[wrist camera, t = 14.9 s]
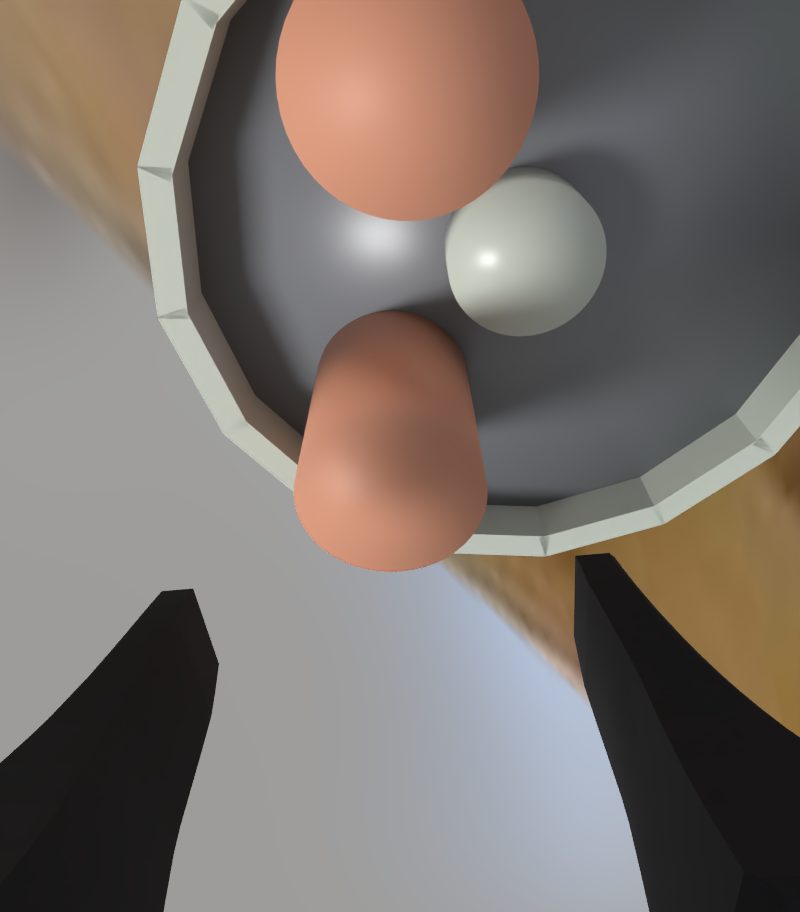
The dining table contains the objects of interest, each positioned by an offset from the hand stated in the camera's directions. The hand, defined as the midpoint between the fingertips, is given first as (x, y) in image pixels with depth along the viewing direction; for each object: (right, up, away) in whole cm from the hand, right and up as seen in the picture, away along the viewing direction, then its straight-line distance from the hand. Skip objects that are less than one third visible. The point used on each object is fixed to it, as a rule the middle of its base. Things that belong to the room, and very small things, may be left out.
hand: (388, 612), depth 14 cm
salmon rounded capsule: (0, +12, +4) cm, 13 cm away
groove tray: (+3, +9, +7) cm, 12 cm away
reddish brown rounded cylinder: (0, +5, +8) cm, 10 cm away
